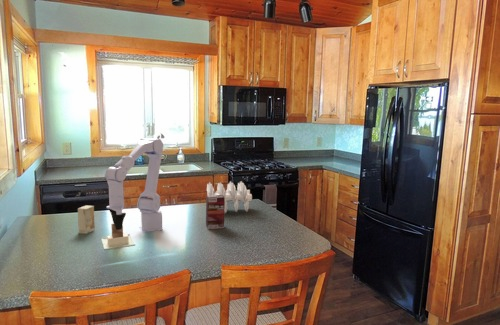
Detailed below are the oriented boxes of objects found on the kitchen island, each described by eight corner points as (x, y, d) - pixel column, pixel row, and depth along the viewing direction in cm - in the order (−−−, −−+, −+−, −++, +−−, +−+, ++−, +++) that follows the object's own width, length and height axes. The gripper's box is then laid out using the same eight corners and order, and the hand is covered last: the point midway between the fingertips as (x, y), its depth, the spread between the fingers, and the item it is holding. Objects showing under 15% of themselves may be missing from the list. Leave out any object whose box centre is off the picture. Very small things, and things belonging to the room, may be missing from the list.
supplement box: (207, 229, 173) (207, 197, 170) (205, 226, 177) (205, 195, 175) (224, 228, 175) (225, 197, 173) (222, 225, 180) (222, 194, 177)
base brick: (127, 239, 156) (126, 233, 155) (128, 242, 152) (128, 236, 152) (107, 242, 152) (107, 235, 152) (108, 245, 148) (108, 238, 148)
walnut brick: (121, 233, 154) (121, 222, 154) (123, 236, 151) (122, 225, 150) (111, 235, 152) (111, 223, 152) (113, 238, 149) (112, 226, 148)
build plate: (129, 235, 162) (129, 234, 162) (135, 246, 150) (135, 244, 150) (101, 239, 156) (101, 237, 156) (104, 251, 144) (104, 249, 144)
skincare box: (86, 235, 162) (85, 209, 160) (78, 234, 163) (76, 208, 161) (95, 230, 168) (94, 205, 166) (87, 229, 169) (86, 204, 167)
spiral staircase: (251, 219, 203) (208, 219, 197) (245, 199, 217) (205, 199, 211) (257, 194, 193) (212, 194, 187) (250, 175, 208) (208, 174, 201)
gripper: (104, 192, 154) (105, 222, 156) (108, 200, 141) (109, 233, 143) (121, 191, 157) (122, 220, 159) (126, 198, 144) (127, 230, 146)
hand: (117, 226), depth 151 cm, fingers open, 7 cm apart
